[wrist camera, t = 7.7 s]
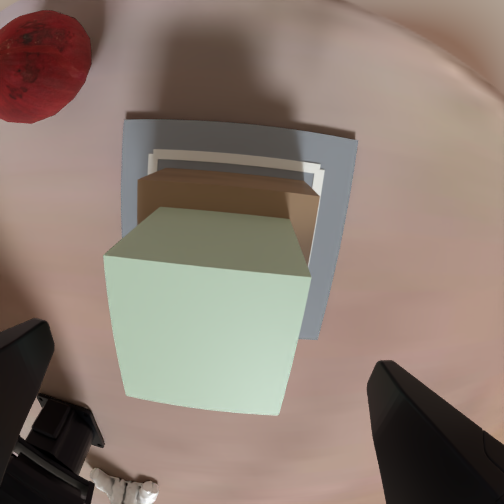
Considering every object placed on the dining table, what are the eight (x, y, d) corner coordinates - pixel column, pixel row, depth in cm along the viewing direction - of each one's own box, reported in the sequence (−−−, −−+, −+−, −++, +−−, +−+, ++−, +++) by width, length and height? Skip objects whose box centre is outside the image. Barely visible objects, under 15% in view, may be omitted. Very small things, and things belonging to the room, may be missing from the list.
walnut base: (284, 303, 18) (291, 346, 14) (164, 290, 17) (143, 329, 14) (304, 180, 15) (320, 196, 11) (165, 167, 15) (137, 179, 11)
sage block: (272, 328, 14) (278, 415, 9) (161, 315, 13) (126, 395, 9) (289, 218, 12) (311, 277, 7) (160, 206, 12) (103, 255, 7)
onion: (113, 15, 12) (31, -36, 4) (120, 104, 14) (23, 93, 7) (35, 51, 12) (-56, 36, 5) (40, 133, 14) (-59, 149, 7)
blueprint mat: (316, 336, 19) (317, 340, 19) (130, 315, 19) (128, 320, 18) (355, 140, 15) (358, 140, 14) (127, 119, 14) (123, 119, 14)
